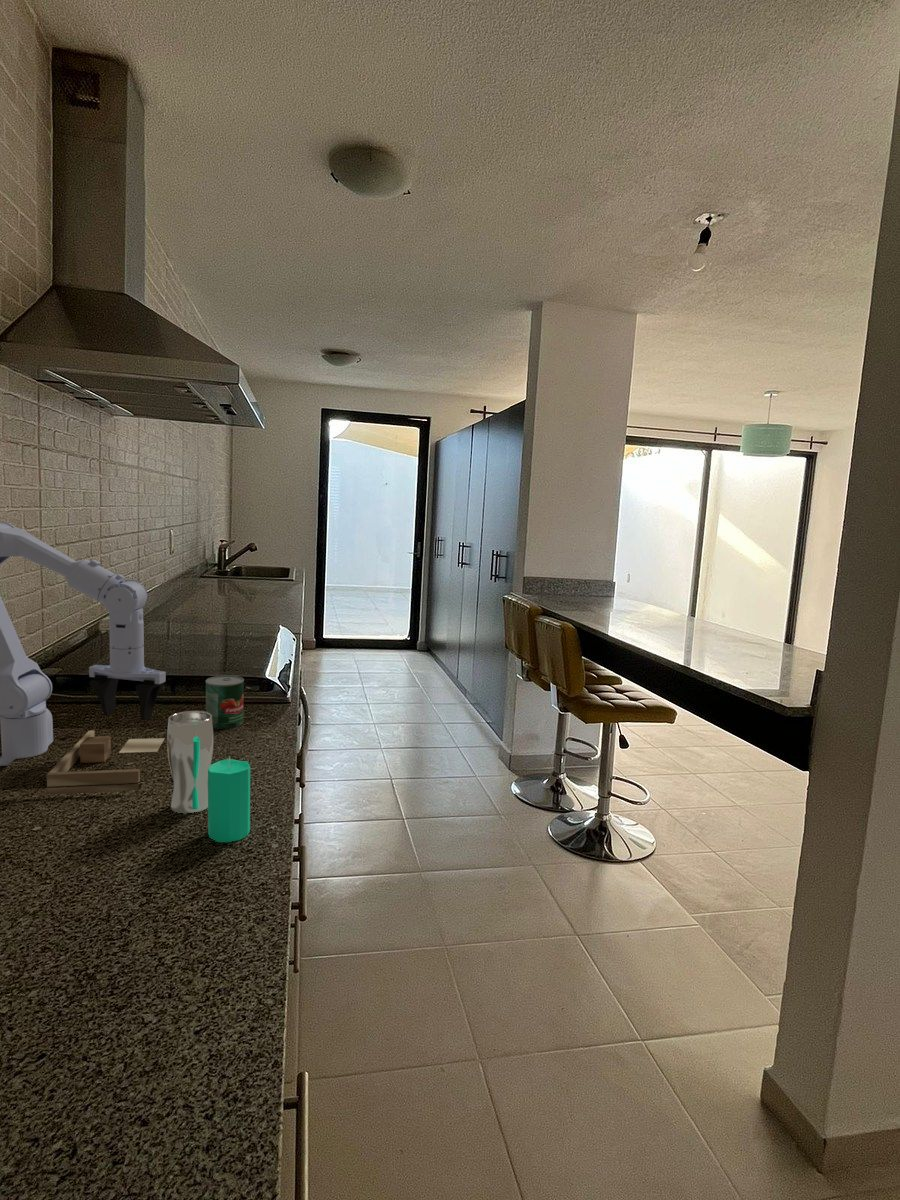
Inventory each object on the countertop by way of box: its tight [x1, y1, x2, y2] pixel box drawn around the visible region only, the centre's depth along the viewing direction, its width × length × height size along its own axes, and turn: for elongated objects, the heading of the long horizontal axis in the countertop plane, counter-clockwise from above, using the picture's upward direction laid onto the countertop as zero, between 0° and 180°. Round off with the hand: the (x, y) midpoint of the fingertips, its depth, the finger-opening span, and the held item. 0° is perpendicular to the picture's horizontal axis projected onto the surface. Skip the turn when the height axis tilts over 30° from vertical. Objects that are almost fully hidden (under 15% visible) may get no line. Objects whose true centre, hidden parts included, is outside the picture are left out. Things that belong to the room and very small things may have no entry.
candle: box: [207, 755, 251, 843], centre depth 98 cm, size 6×6×12 cm
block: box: [79, 735, 112, 764], centre depth 121 cm, size 4×4×4 cm
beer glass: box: [166, 710, 214, 815], centre depth 106 cm, size 7×7×15 cm
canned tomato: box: [205, 675, 245, 730], centre depth 144 cm, size 8×8×11 cm
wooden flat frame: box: [46, 729, 166, 795], centre depth 121 cm, size 22×14×3 cm, turn 12°
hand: (127, 716), depth 124 cm, fingers open, 7 cm apart
